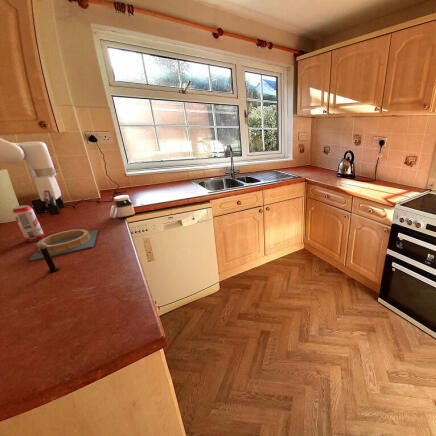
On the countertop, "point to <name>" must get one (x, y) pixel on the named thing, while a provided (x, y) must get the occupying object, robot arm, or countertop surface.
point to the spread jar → (122, 207)
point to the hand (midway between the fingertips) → (58, 211)
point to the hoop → (67, 245)
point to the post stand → (47, 257)
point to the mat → (88, 244)
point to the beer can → (28, 223)
